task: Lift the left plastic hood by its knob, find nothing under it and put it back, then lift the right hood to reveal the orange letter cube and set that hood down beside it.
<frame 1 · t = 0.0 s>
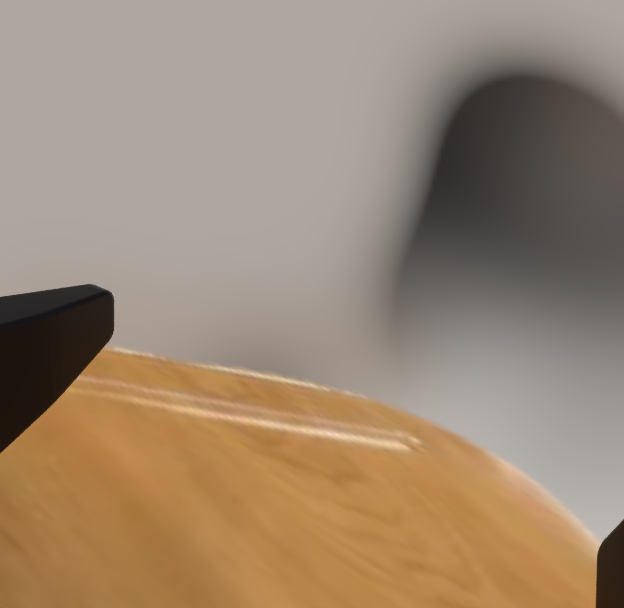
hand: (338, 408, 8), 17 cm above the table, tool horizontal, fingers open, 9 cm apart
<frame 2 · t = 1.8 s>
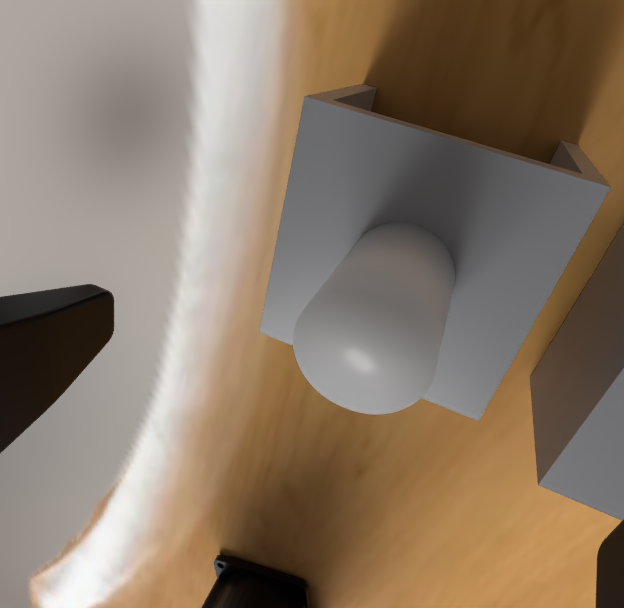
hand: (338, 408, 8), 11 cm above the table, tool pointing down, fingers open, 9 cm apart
hood a: (428, 214, 17), on the table
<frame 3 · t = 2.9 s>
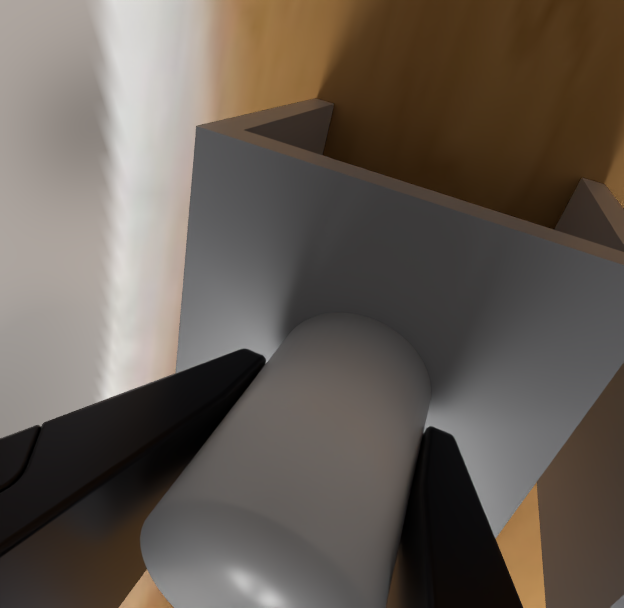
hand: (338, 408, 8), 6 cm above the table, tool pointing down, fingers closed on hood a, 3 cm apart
hood a: (405, 267, 13), on the table, touching gripper
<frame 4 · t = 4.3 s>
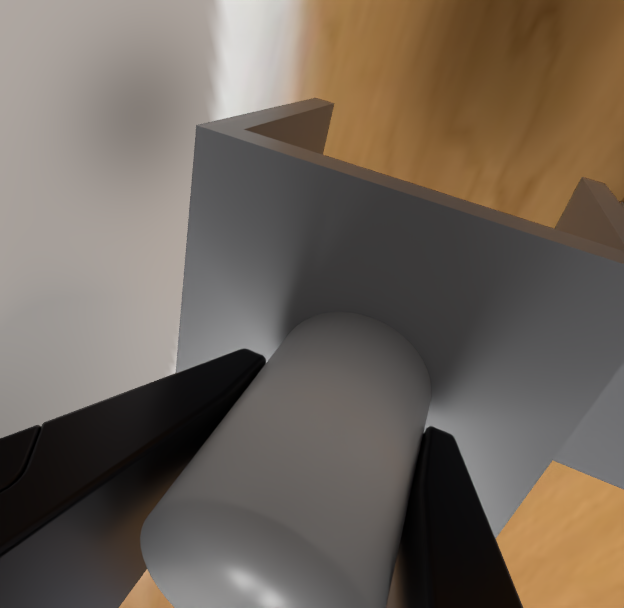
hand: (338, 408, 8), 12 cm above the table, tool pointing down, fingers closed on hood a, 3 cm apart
hood a: (405, 266, 13), point 6 cm above the table, touching gripper
when the fingers open (7 cm above the table, at t = 6.0 s): hood a stays where it is, on the table.
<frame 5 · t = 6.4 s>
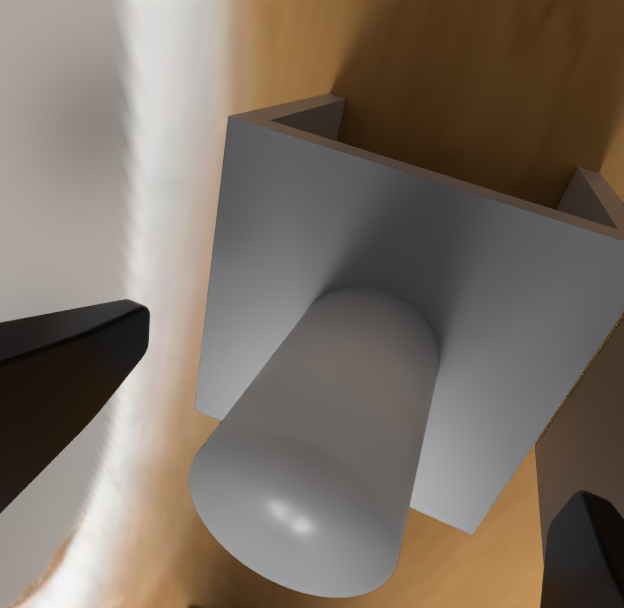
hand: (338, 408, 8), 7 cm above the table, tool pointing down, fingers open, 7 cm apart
hood a: (412, 253, 14), on the table
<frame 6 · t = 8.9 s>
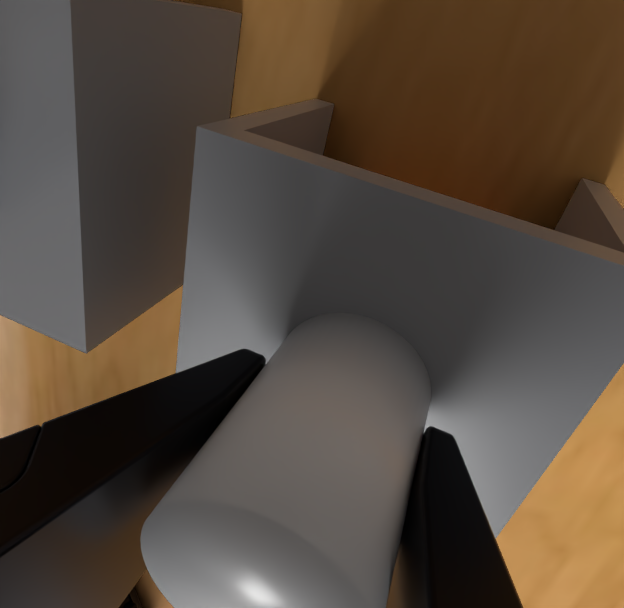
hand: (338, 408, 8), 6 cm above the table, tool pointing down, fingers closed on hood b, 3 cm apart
hood b: (405, 267, 13), on the table, touching gripper
hood a: (120, 120, 14), on the table
when the fingers open (7 cm above the table, at t = 13.1 s): hood b drops 1 cm, on the table.
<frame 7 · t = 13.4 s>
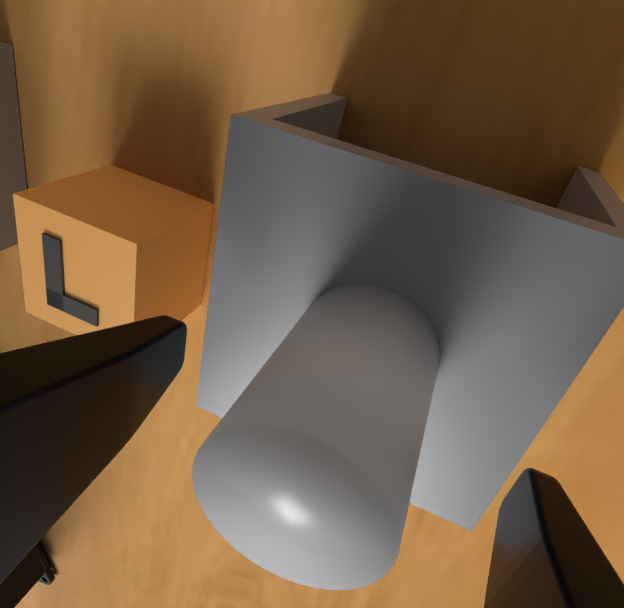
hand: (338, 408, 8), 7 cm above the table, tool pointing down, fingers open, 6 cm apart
letter cube: (121, 257, 15), on the table
hood b: (412, 252, 14), on the table
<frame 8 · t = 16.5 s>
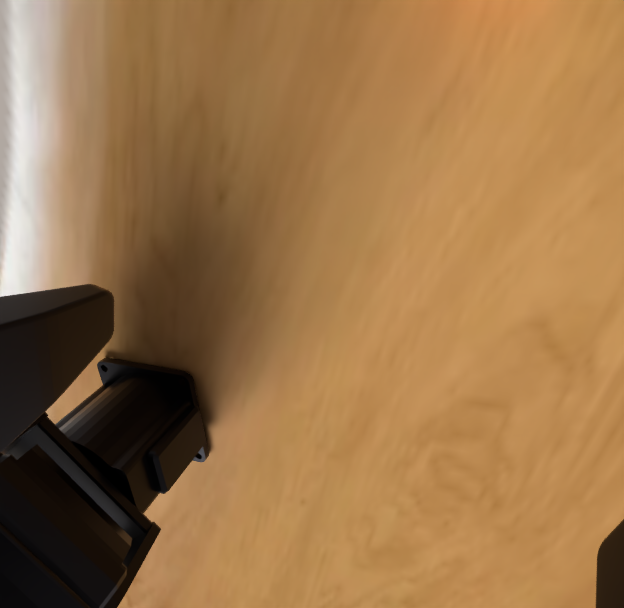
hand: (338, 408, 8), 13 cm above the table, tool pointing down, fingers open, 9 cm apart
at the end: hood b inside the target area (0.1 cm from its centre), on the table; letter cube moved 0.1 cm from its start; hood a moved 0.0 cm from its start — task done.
